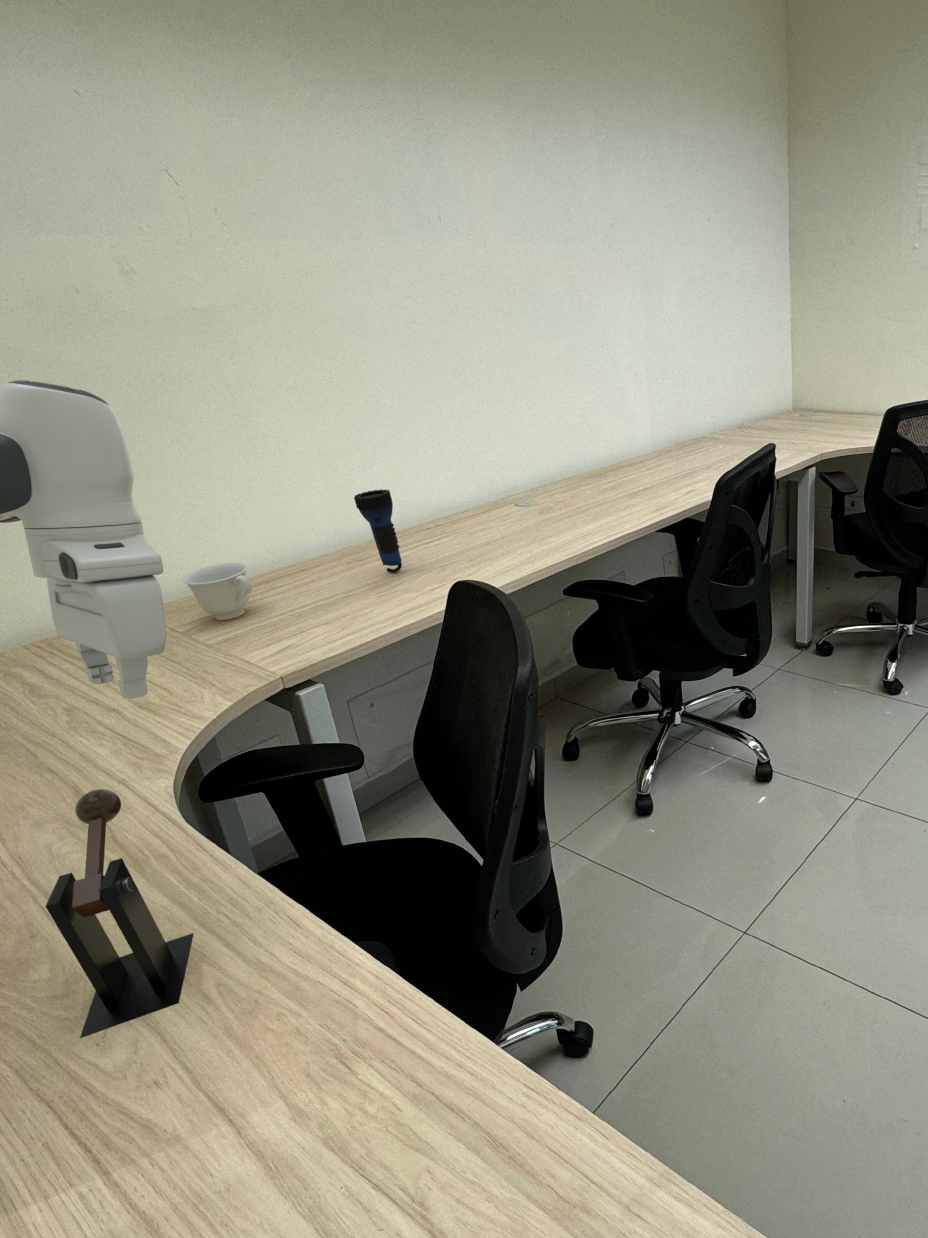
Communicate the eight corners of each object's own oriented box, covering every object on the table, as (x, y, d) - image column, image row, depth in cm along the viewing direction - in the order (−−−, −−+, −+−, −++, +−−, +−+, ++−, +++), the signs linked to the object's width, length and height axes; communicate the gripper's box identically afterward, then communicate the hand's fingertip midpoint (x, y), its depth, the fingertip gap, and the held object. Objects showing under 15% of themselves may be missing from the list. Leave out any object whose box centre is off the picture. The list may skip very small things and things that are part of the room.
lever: (86, 806, 80) (69, 789, 77) (128, 795, 81) (112, 778, 79) (78, 923, 73) (58, 908, 70) (123, 909, 74) (106, 894, 71)
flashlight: (369, 575, 187) (346, 495, 178) (398, 564, 193) (377, 487, 184) (387, 580, 182) (365, 499, 174) (416, 570, 188) (396, 491, 180)
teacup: (236, 630, 160) (219, 586, 156) (185, 623, 165) (168, 580, 160) (283, 607, 170) (269, 565, 166) (234, 601, 175) (219, 561, 171)
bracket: (109, 969, 81) (48, 863, 75) (197, 940, 84) (146, 835, 78) (84, 1046, 73) (13, 934, 66) (183, 1011, 76) (123, 900, 69)
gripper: (18, 552, 78) (46, 681, 81) (84, 564, 67) (114, 714, 70) (95, 546, 83) (119, 667, 86) (168, 557, 72) (193, 696, 75)
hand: (117, 689), depth 78 cm, fingers open, 8 cm apart
